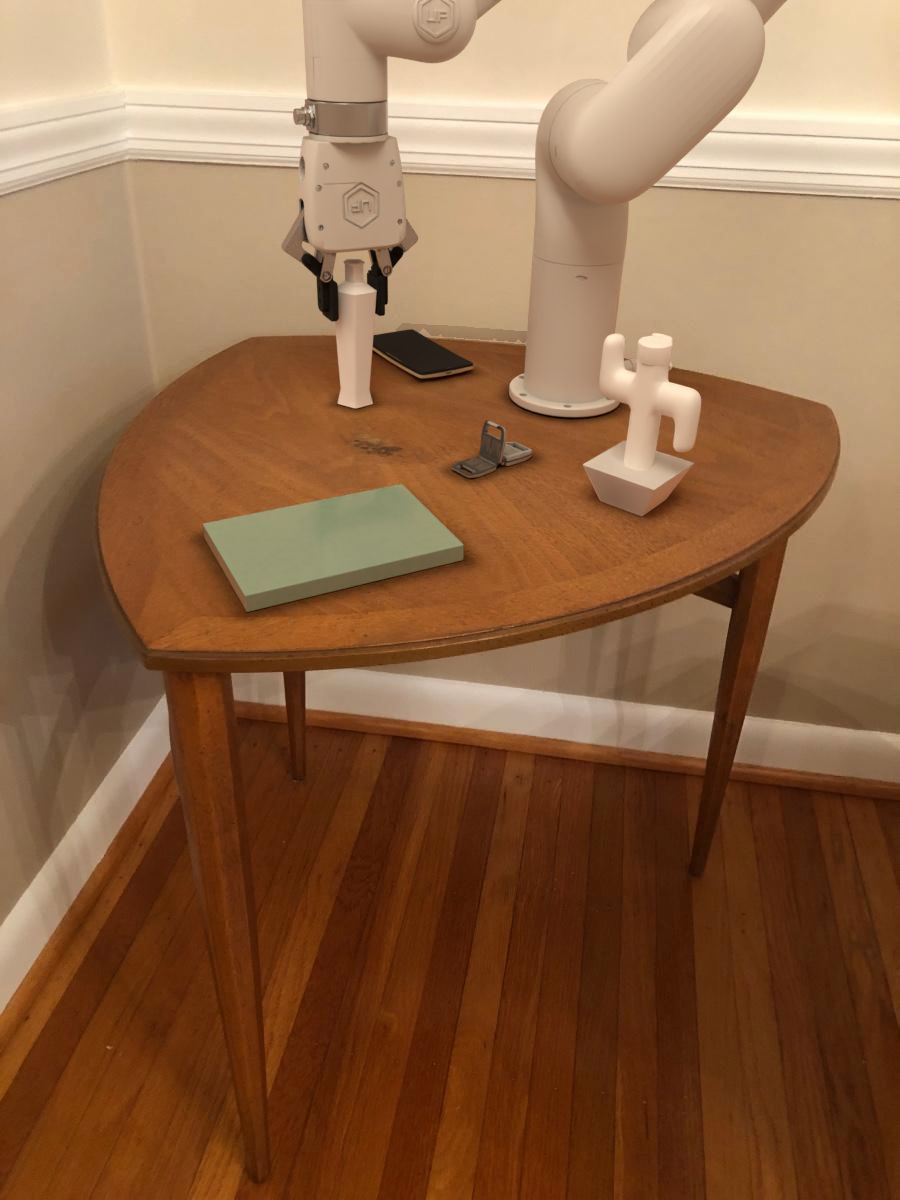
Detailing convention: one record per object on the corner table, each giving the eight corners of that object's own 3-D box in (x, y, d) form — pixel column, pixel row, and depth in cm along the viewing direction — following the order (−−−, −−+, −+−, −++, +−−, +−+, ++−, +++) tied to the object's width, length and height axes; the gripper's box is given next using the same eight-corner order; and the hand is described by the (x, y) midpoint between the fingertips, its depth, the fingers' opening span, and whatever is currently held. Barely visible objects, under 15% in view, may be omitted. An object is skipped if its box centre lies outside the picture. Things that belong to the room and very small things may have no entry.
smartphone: (421, 373, 108) (361, 336, 119) (421, 383, 109) (361, 345, 119) (475, 363, 112) (412, 328, 122) (475, 372, 112) (412, 336, 123)
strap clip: (514, 448, 95) (516, 408, 92) (535, 458, 93) (538, 417, 91) (448, 470, 90) (449, 428, 88) (469, 481, 88) (471, 438, 86)
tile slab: (402, 498, 85) (402, 483, 84) (463, 560, 76) (464, 544, 75) (204, 538, 78) (202, 523, 77) (246, 612, 69) (244, 595, 68)
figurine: (659, 532, 81) (688, 362, 73) (567, 497, 86) (585, 335, 78) (698, 503, 86) (729, 340, 77) (609, 472, 91) (630, 316, 82)
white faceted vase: (370, 411, 102) (370, 268, 94) (331, 406, 102) (328, 264, 94) (381, 396, 105) (382, 258, 97) (343, 392, 106) (341, 254, 98)
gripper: (274, 129, 82) (287, 335, 93) (446, 123, 89) (441, 316, 99) (248, 118, 88) (264, 314, 98) (412, 114, 95) (411, 297, 105)
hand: (353, 313), depth 98 cm, fingers closed on white faceted vase, 4 cm apart
